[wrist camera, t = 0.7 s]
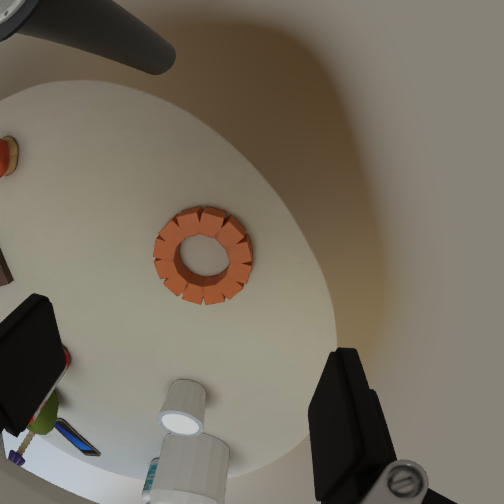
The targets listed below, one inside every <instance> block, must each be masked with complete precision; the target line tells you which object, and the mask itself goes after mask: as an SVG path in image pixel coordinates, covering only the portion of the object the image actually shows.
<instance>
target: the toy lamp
mask: <svg viewBox="0 0 504 504" xmlns="http://www.w3.org/2000/svg"><path fill="white" fill-rule="evenodd" d="M34 435H35V433H33V432H31V431H29V433H28V435H27V436H26V438H25V439H24V441H23V443H22V444H21V446H20V447H19V450H17V452H15V451H13V450H10V453H9V457H8V460H10V461H12V462H13V463H15V464H17V465H18V466H21V465H23V464H24V463H25V460H24V459H23V457H22V455H23V453H24V452H25V449H26V448H27V446H28V445H29V444H30V441H31V440H32V437H34Z"/></svg>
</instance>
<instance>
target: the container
mask: <svg viewBox="0 0 504 504" xmlns="http://www.w3.org/2000/svg"><path fill="white" fill-rule="evenodd" d="M228 462H229V448H228V446H227V445H226V444H225V443H224V442H223V441H221V440H219V439H217V438H216V437H214V436H211V435H208V434H204V433H201V434H199V435H197V436H191V437H185V436H179V435H176V434H172V433H170V434H168V435H167V436H166V438H165V440H164V443H163V447H162V450H161V454H160V457H159V461H158V465H157V468H156V472H155V476H154V480H153V483H152V487H151V491H150V504H224V499H225V490H226V480H227V472H228Z"/></svg>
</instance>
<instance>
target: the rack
mask: <svg viewBox="0 0 504 504" xmlns="http://www.w3.org/2000/svg"><path fill="white" fill-rule="evenodd" d="M12 281H13V278H12V275H11V273H10V271H9V269H8V266H7V264H6V262H5V259H4V257H3V254H2V252H1V249H0V286H3V285H7V284H9V283H11V282H12Z"/></svg>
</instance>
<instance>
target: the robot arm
mask: <svg viewBox="0 0 504 504" xmlns="http://www.w3.org/2000/svg"><path fill="white" fill-rule="evenodd" d="M25 1H26V0H0V24H2V23H3V22H5V21H7V20H8V19H9V18H10V17H12V16H13V15H14V14H15V13H16V12H17V11H18V10H19V8H20V7H21V6H22V5H23V4H24V2H25ZM66 363H67V360H66V356H65V353H64V349H63V346H62V342H61V338H60V335H59V331H58V327H57V323H56V319H55V314H54V310H53V306H52V303H51V302H50V301H49V299H48V297H46V296H43V295H39V294H36V293H33V294H31V295H30V296H29V297H28V298H27V299H26V300H25V301H23V302H22V303H21V304H20V305H19V306H18V307H17V308H16V309H15V310H14V311H13V312H12V313H10V314H9V315H8V316H7V317H6V318H5V319H4V320H3V321H2V322H1V323H0V504H99V503H96V502H93V501H90V500H88V499H85V498H83V497H81V496H78V495H76V494H74V493H72V492H69V491H67V490H65V489H63V488H60V487H58V486H56V485H54V484H52V483H50V482H48V481H46V480H44V479H42V478H40V477H38V476H36V475H35V474H33V473H31V472H29V471H27V470H25V469H23V468H22V467H20V466H18V465H17V464H15V463H13V462H12V461H10V460H8V459H7V458H6V455H5V449H4V443H3V437H2V431H3V429H5V430H6V431H7V432H8V433H10V434H12V435H13V436H15V437H18V435H19V434H20V432H23V431H24V430H25V429H26V427H27V426H28V424H29V423H30V421H31V419H32V418H33V416H34V414H35V413H36V411H37V410H38V408H39V407H40V405H41V403H42V402H43V400H44V399H45V397H46V396H47V394H48V393H49V391H50V390H51V388H52V387H53V385H54V384H55V382H56V381H57V379H58V378H59V376H60V375H61V373H62V372H63V370H64V369H65V367H66ZM308 421H309V431H310V441H311V452H312V462H313V474H314V487H315V497H316V500H317V501H321V504H457V503H455V502H453V501H451V500H449V499H448V498H446V497H444V496H442V495H440V494H438V493H436V492H435V491H433V490H431V489H429V488H428V485H429V482H428V476H427V474H426V471H425V470H424V469H423V468H422V467H421V466H420V465H419V464H417V463H416V462H413V461H410V460H397V458H396V454H395V451H394V447H393V444H392V441H391V437H390V434H389V430H388V427H387V424H386V421H385V418H384V414H383V412H382V408H381V405H380V402H379V399H378V396H377V394H376V391H374V390H373V389H370V388H369V386H368V382H367V379H366V376H365V373H364V370H363V367H362V364H361V361H360V358H359V355H358V352H357V350H356V349H355V348H340V347H339V348H337V349H336V351H335V352H330V354H329V357H328V359H327V362H326V365H325V367H324V370H323V373H322V375H321V378H320V380H319V383H318V385H317V388H316V390H315V393H314V395H313V397H312V400H311V402H310V405H309V408H308Z"/></svg>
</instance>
